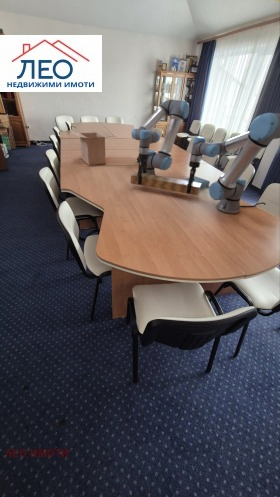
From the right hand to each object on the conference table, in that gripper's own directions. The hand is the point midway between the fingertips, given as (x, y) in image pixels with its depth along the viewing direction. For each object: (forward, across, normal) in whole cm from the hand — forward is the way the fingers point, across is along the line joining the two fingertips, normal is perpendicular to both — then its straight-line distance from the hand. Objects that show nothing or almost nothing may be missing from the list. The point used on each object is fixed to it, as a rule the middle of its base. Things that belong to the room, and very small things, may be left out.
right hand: (189, 191), depth 170 cm
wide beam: (+1, 0, +19) cm, 19 cm away
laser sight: (+5, +74, +56) cm, 92 cm away
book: (+5, +26, -1) cm, 26 cm away
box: (+5, +52, +109) cm, 121 cm away
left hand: (0, 0, +39) cm, 39 cm away
